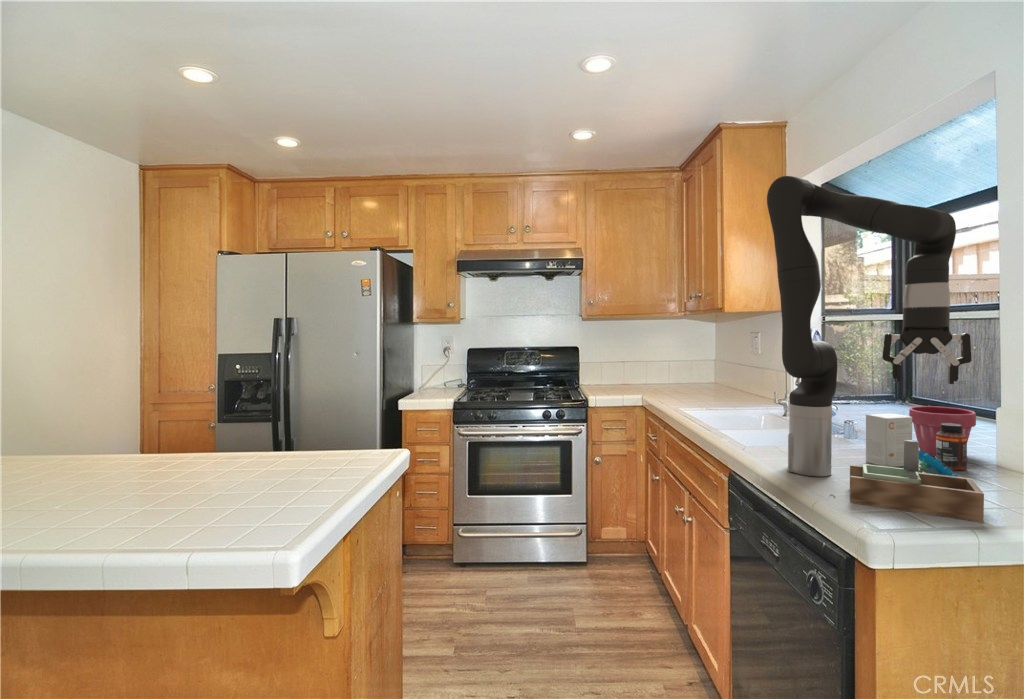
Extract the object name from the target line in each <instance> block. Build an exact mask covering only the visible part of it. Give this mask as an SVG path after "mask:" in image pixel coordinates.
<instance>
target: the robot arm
mask: <svg viewBox="0 0 1024 699" xmlns="http://www.w3.org/2000/svg"><path fill="white" fill-rule="evenodd" d="M766 204H767V211H768V215H769V219H770V223H771V224H770V225H771V228H772V233H773V234H772V235H773V240H774V249H775V250H774V251H775V258H776V267H777V268H776V269H777V271H776V272H777V282H778V289H779V290H778V291H779V296H780V310H781V327H782V328H781V329H782V330H781V331H782V332H781V359H782V364H783V367H784V369H785V371H786V373H787V374H788V375H789V376H791V377H793V378H796V379H800V382H799V384H798V385H797V387H796V388H795V389H794V390H792V391H791V392H790V393H789V397H788V398H789V401H788V403H789V404H788V409H789V410H788V414H789V415H788V418H789V420H788V422H789V423H788V430H789V431H788V435H787V472H790V473H795V474H799V475H801V476H808V477H828V476H831V475H832V468H833V467H832V466H833V465H832V452H833V449H832V448H833V446H832V442H833V441H832V438H833V437H832V434H833V433H832V432H833V431H832V430H833V427H832V426H833V418H832V417H833V415H832V414H833V408H832V407H833V406H832V405H833V399H834V397H835V395H836V392H837V381H838V356H837V353H836V350H835V349H834V347H833V345H831V344H830V343H828V342H827V341H822V340H813V337H812V328H811V326H812V325H811V320H812V314H813V312H814V309H815V307H816V304H817V302H818V299H819V296H820V292H821V288H822V287H821V286H822V284H821V283H822V282H821V281H822V280H821V273H820V272H821V271H820V265H819V259H818V257H817V254H816V252H815V250H814V248H813V245H812V244H811V242H810V241H809V239H808V237H807V234H806V232H805V229H804V226H803V218H802V217H816V218H817V217H818V218H824V219H828V220H832V221H835V222H839V223H840V224H844V225H847V226H850V227H854V228H857V229H861V230H864V231H867V232H872V233H878V234H883V235H884V234H885V235H888V236H891V237H893V238H897V239H900V240H902V241H903V240H904V241H907V242H910V243H914V250H913V256H912V257H911V258H909V259H908V260H907V261H906V263H905V270H904V271H905V276H904V277H905V278H904V280H905V281H904V284H905V285H904V291H903V295H902V296H903V299H902V331H901V332H900V334H893V333H885V334H884V337H883V344H882V345H883V348H882V355H881V356H882V357H881V359H882V360H883V361H884V362H888V363H891V365H892V366H891V367H892V368H891V370H892V373H891V374H892V379H894V380H896V381H895V382H896V383H897V382H898V383H901V382H902V364H901V363H902V362H903V361H904V360H905V358H906V357H907V356H909V355H910V354H911V353H913V354H915V355H916V354H917V355H922V354H929V355H936V354H938V353H939V354H940V355H941V356H942V357H943V358H944V359H946V361H947V362H948V363H949V365H948V368H947V383H948V384H949V385H954V384H955V382H958V381H959V368H960V367H961V365H964V364H969V363H971V362H972V361H973V360H972V343H971V335H970V334H969V333H967V332H964V333H953V334H952V333H951V331H950V321H951V320H950V319H951V318H950V317H951V316H950V313H951V289H950V283H949V282H950V259H951V256H952V253H953V248H954V245H955V239H956V234H957V226H956V221H955V218H954V217H953V215H952V214H950V213H949V212H947V211H943V210H939V209H935V208H931V207H926V206H917V205H911V204H905V203H904V204H901V203H899V202H896V201H892V200H888V199H883V198H878V197H872V196H868V195H867V196H866V195H858V194H846V193H841V192H835V191H832V190H829V189H827V188H824V187H823V186H820V185H817V184H815V183H812V182H811V181H809V180H807V179H803V178H801V177H797V176H792V175H783V176H780V177H778V178H775V180H773V181H772V183H771V184H770V186H769V188H768V191H767V195H766ZM897 340H900V341H901V343H902V344H903V345H904V347H903V348H902V349H901V350H900V351H899V353H897V355H896V356H895V357H894V356H891V348H892V345H893V344H896V342H897ZM952 340H954V341H955V343H956V344H957V345H960V352H961V353H960V354H961V356H960V357H958V358H956V357H955V355H953V353H952V352H951V351H950V350H949V349H948V348H947V347H946V346H947V345H948V344H949V343H950V342H951V341H952Z"/></svg>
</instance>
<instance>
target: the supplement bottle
mask: <svg viewBox="0 0 1024 699" xmlns="http://www.w3.org/2000/svg"><path fill="white" fill-rule="evenodd" d="M961 430H962V425H959V424H953V423H942V424H941V430H940V431H939V432H937V434H936V457H935V459H937V460H939V461H941V462H942V463H941V464H942V465H943V466H944V467H948V468H950V469H951V470H952V471H966V470H967V469H968V442H967V436H966V435H965V434H964V433H962V431H961Z"/></svg>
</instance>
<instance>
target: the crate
mask: <svg viewBox="0 0 1024 699" xmlns="http://www.w3.org/2000/svg"><path fill="white" fill-rule="evenodd" d="M919 450H920V448H919V442H918V441H917V440H913V439H912V440H904V466H903V467H902V468H901V467H885V466H879V465H875V464H866V463H862V466H863V477H865V478H873V479H881V480H889V481H897V482H905V483H913V484H921V479H920V477H919V475H918V473H917V472H918V471H919V470H920V469H919V467H920V464H919V463H920V462H919V461H920V460H919Z"/></svg>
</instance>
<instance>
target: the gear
mask: <svg viewBox="0 0 1024 699" xmlns="http://www.w3.org/2000/svg"><path fill="white" fill-rule="evenodd" d="M919 461H920V462H919V471H918V472H919V473H928V474H937V475H945V476H954V477H959V476H958V475H957V474H956V473H952V472H953V470H951V469H950V468H948V467H944V466H943V465H942V464H941V463H942V462H941V461H939V460H937V459H936V458H933V456H931V455H930V454H928V453H924V452H922V451H921V450H920V449H919Z"/></svg>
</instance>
